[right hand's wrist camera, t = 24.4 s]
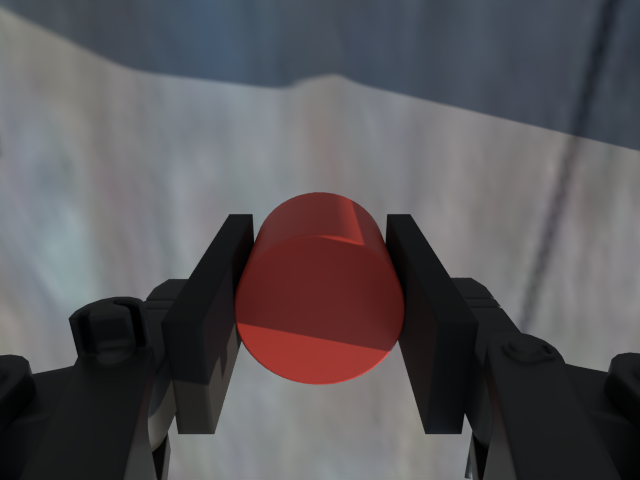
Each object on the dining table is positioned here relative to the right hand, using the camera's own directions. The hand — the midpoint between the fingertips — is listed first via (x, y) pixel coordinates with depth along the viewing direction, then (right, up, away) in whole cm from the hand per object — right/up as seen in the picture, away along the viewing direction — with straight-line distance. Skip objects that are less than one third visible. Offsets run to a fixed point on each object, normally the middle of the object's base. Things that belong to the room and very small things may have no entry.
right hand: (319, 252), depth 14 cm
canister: (0, 0, 0) cm, 0 cm away
